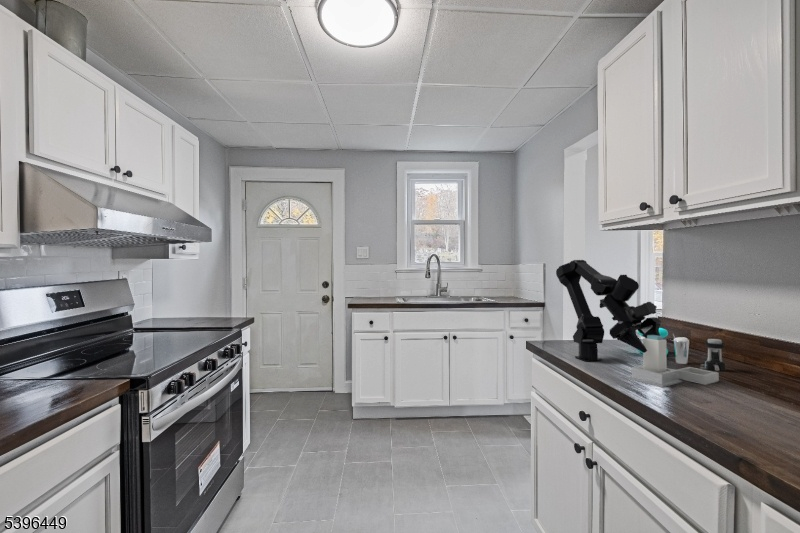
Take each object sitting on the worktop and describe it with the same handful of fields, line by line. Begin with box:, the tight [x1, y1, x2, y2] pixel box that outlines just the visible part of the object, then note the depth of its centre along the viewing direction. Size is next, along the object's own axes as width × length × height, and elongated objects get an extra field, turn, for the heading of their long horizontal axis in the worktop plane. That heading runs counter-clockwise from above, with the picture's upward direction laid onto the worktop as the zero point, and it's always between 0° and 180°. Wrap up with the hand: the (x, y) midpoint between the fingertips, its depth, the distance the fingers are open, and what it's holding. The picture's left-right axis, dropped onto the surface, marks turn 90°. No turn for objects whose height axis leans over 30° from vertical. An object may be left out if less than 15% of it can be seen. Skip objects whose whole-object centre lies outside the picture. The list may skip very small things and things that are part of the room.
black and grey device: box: [699, 338, 726, 372], centre depth 132 cm, size 7×5×10 cm
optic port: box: [628, 364, 683, 388], centre depth 120 cm, size 10×10×4 cm
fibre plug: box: [642, 335, 668, 373], centre depth 120 cm, size 4×4×13 cm
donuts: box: [637, 327, 669, 356], centre depth 155 cm, size 10×10×10 cm
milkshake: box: [672, 333, 690, 365], centre depth 141 cm, size 5×5×10 cm
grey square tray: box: [676, 366, 720, 386], centre depth 121 cm, size 8×8×2 cm
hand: (655, 350), depth 120 cm, fingers open, 9 cm apart
